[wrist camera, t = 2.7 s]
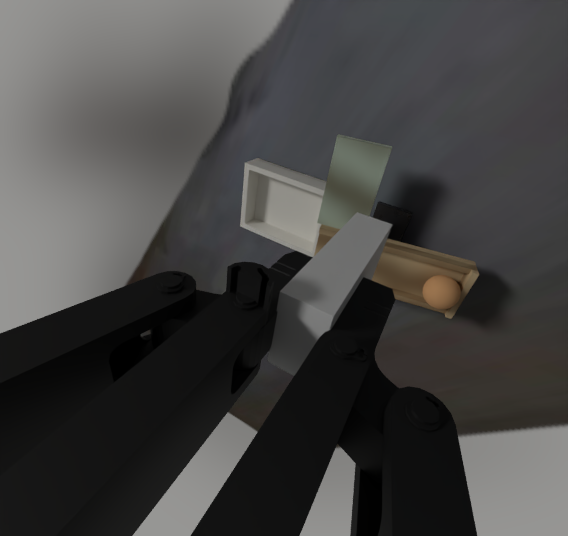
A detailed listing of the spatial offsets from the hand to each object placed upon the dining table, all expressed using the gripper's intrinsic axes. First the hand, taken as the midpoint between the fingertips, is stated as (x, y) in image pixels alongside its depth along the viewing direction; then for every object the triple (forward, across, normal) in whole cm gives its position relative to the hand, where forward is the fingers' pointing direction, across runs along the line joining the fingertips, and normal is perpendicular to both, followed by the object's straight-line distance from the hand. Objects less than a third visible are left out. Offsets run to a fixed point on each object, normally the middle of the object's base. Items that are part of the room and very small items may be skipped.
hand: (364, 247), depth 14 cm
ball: (+19, +6, -12) cm, 23 cm away
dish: (+26, -15, -11) cm, 32 cm away
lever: (+20, 0, -8) cm, 22 cm away
